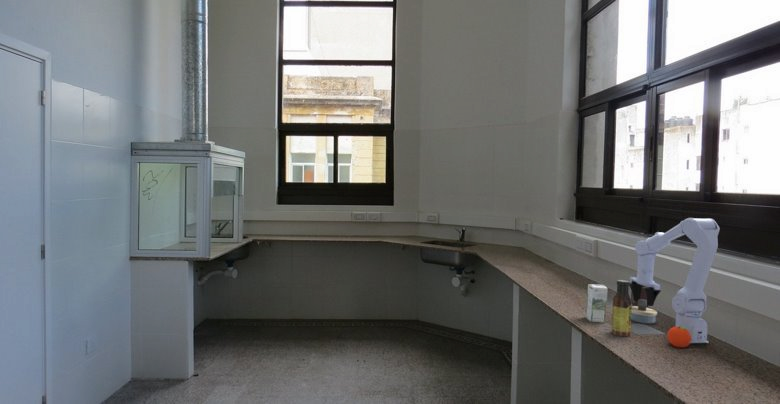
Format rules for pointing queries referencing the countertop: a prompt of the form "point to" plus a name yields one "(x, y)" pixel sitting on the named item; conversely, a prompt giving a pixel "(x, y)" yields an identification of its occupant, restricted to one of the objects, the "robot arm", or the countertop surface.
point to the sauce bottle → (622, 310)
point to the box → (642, 296)
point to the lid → (643, 309)
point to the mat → (644, 329)
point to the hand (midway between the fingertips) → (643, 303)
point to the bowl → (643, 318)
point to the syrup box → (596, 303)
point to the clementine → (679, 336)
